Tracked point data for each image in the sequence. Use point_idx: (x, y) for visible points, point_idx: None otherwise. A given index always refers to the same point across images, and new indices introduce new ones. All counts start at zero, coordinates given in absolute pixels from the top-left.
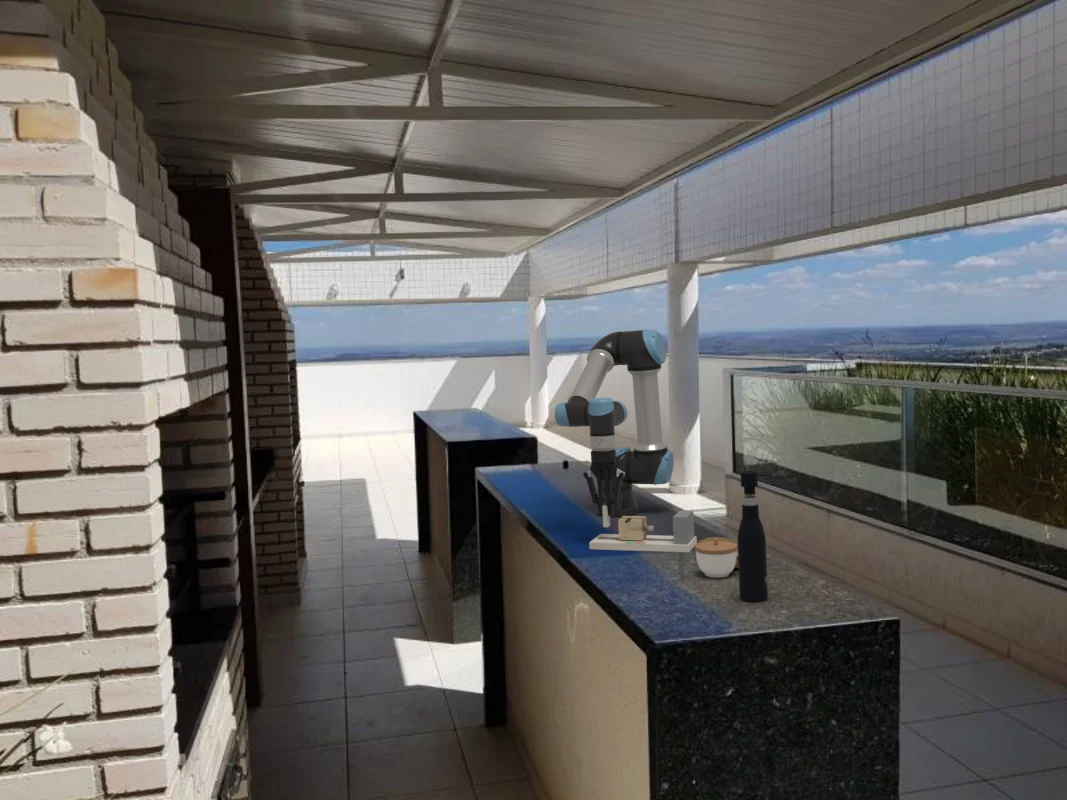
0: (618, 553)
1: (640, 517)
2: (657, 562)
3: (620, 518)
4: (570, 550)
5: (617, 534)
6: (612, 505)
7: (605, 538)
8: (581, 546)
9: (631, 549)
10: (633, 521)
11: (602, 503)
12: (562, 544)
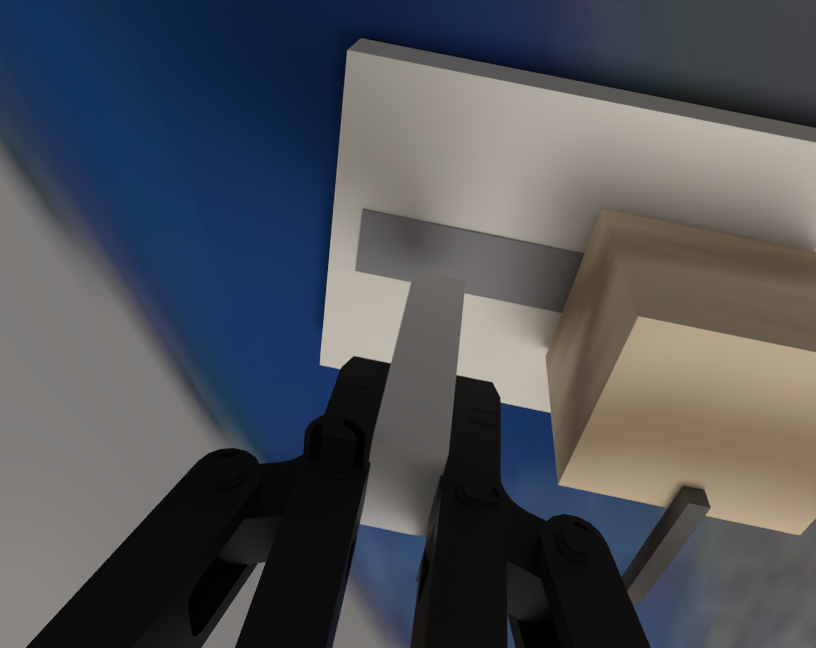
0: (533, 443)
1: None
2: (731, 600)
3: (588, 431)
4: (216, 351)
5: (532, 95)
6: (500, 483)
7: (426, 267)
8: (252, 255)
9: None
10: (716, 508)
11: (355, 544)
12: (83, 180)
